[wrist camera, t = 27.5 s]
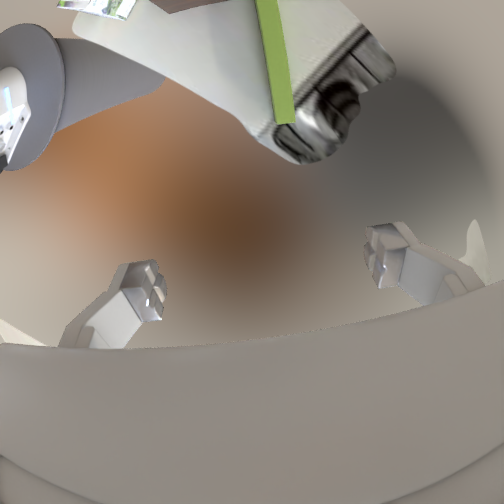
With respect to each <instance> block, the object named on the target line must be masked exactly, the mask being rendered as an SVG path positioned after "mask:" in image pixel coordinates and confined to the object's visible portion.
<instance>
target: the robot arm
mask: <svg viewBox="0 0 504 504" xmlns="http://www.w3.org/2000/svg"><path fill="white" fill-rule="evenodd" d="M30 116H31V110H30V107H29V104H28V102H27V89H26V83H25V80H24V77H23V75H22V73H21V72H20V71H19V70H18V69H17V68H14V67H6V68H4V69H2V70H1V71H0V173H1V172H2V171H3V168H5V167H6V166H8V164H9V161H10V159H11V157H12V154H13V152H14V150H15V147H16V145H17V143H18V141H19V138H20V136H21V134H22V132H23V130H24V128H25V126H26V124H27V122H28V120H29V118H30ZM23 117H24V119H23ZM365 236H366V238H367V240H368V242H367V243H366V244H365V245H364V258H365V262H366V265H367V267H368V269H370V270H371V271H373V276H372V277H373V279H374V281H375V283H376V285H377V287H378V288H385V287H391V286H396V285H398V287H400V288H401V289H402V290H404V291H405V292H406V293H408V294H409V295H410V296H412V297H413V298H414V299H415V300H417V301H418V302H419V303H420V304H422V305H423V306H422V307H418V308H415V309H411V310H407V311H403V312H400V313H396V314H391V315H387V316H383V317H379V318H375V319H370V320H366V321H361V322H356V323H351V324H346V325H342V326H337V327H331V328H326V329H320V330H315V331H309V332H303V333H297V334H290V335H284V336H277V337H270V338H262V339H255V340H246V341H237V342H227V343H219V344H206V345H194V346H181V347H162V348H132V349H131V348H129V349H128V348H124V349H123V347H124V346H125V345H126V343H127V342H128V341H129V339H130V338H131V337H132V336H133V334H134V333H135V332H136V330H137V329H138V328H139V327H140V325H141V324H142V322H148V321H158V320H161V317H162V312H163V308H164V307H163V305H162V302H163V301H164V300H165V299H166V295H167V287H166V282H165V279H164V277H163V276H162V275H161V274H160V273H158V269H159V266H158V264H157V262H156V261H155V260H153V259H151V260H145V261H137V262H131V263H124V264H121V265H119V266H118V269H117V271H116V273H115V275H114V277H113V280H112V282H111V284H110V286H109V289H108V290H107V291H106V292H103V293H102V294H101V295H100V296H99V297H98V298H96V299H95V300H94V301H93V302H92V303H91V304H90V305H89V306H88V307H87V308H85V310H83V311H82V312H81V313H80V314H79V315H78V316H77V317H76V318H75V319H73V320H72V321H71V322H70V323H69V324H68V325H67V326H66V328H65V331H64V333H63V335H62V338H61V340H60V342H59V345H58V347H47V346H34V345H23V344H13V343H2V344H0V504H504V280H502V281H499V282H496V283H494V284H491V285H488V286H485V285H484V283H483V282H482V281H481V279H480V278H479V277H478V275H477V274H476V272H475V271H474V270H473V269H472V267H470V266H468V265H466V264H464V263H462V262H460V261H458V260H456V259H454V258H452V257H451V256H449V255H447V254H445V253H442V252H441V251H438V250H437V249H434V248H432V247H430V246H428V245H426V244H421V243H420V242H419V240H418V239H417V238H416V237H415V235H414V234H413V233H412V232H411V230H410V229H409V228H408V227H407V226H406V224H405V223H404V222H402V221H399V222H393V223H388V224H382V225H376V226H369V227H367V229H366V234H365Z"/></svg>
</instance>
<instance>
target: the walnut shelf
mask: <svg viewBox="0 0 504 504" xmlns="http://www.w3.org/2000/svg"><path fill="white" fill-rule="evenodd" d="M149 1H151V2H153V3H154V4H156V5H157V6H158V7H160V8H161V9H163V10H164V11H166V12H167V13H169V14H171V13H174V12H178V11H182V10H185V9H189V8H193V7H198V6H202V5H207V4H212V3H217V2H222V1H228V0H149Z"/></svg>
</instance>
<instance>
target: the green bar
mask: <svg viewBox="0 0 504 504" xmlns="http://www.w3.org/2000/svg"><path fill="white" fill-rule="evenodd" d="M255 5H256V10H257V15H258V20H259V26H260V31H261V37H262V42H263V48H264V54H265V60H266V66H267V72H268V79H269V85H270V91H271V98H272V105H273V112H274V119H275V122H276V123H277V124H284V123H293V122H296V120H295V112H294V104H293V96H292V88H291V81H290V74H289V67H288V60H287V54H286V47H285V41H284V35H283V30H282V24H281V19H280V13H279V8H278V3H277V0H255Z"/></svg>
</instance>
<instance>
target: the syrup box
mask: <svg viewBox="0 0 504 504" xmlns="http://www.w3.org/2000/svg"><path fill="white" fill-rule="evenodd" d="M136 1H137V0H60V1H59V3H58V5H57V7H60V8H65V9H71V10H76V11H80V12H85V13H89V14H93V15H97V16H102V17H108V18H114V19H119V20H124V21H125V20H126V19H127V17H128V15H129V13H130V11H131V9H132V8H133V6H134V4H135V2H136Z"/></svg>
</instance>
